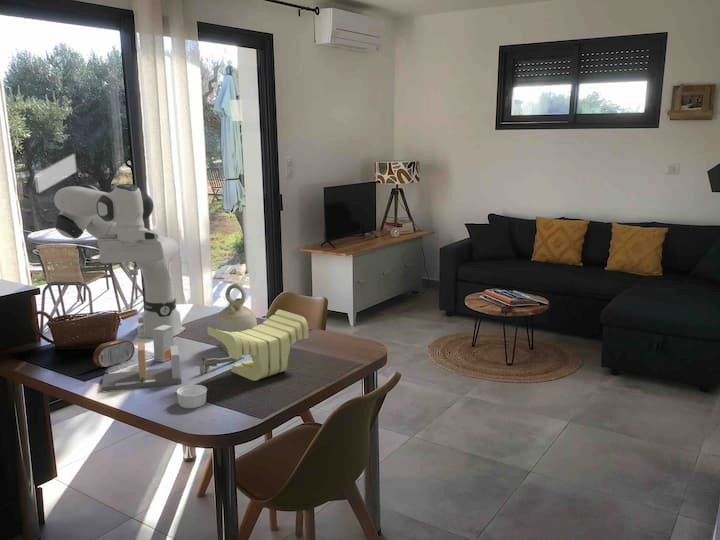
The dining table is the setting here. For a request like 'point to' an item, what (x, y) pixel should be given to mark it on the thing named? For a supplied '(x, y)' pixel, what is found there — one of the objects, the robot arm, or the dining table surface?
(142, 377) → the paddle
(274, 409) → the dining table surface
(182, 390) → the ramekin
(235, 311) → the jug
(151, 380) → the gauge board
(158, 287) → the robot arm
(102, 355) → the tin
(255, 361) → the slatted curved stool
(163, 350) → the skincare box
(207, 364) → the caliper
